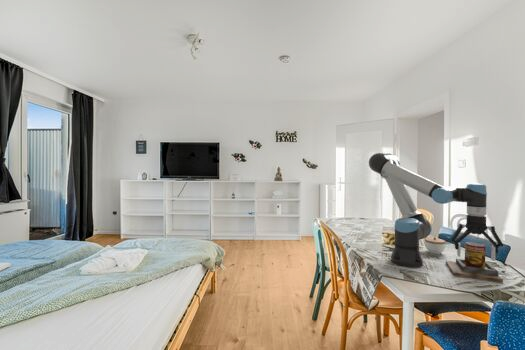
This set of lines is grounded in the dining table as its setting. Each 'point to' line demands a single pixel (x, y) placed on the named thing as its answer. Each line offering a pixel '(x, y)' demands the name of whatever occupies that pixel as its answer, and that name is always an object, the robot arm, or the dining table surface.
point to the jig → (473, 271)
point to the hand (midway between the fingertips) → (475, 257)
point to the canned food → (475, 255)
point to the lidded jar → (435, 245)
